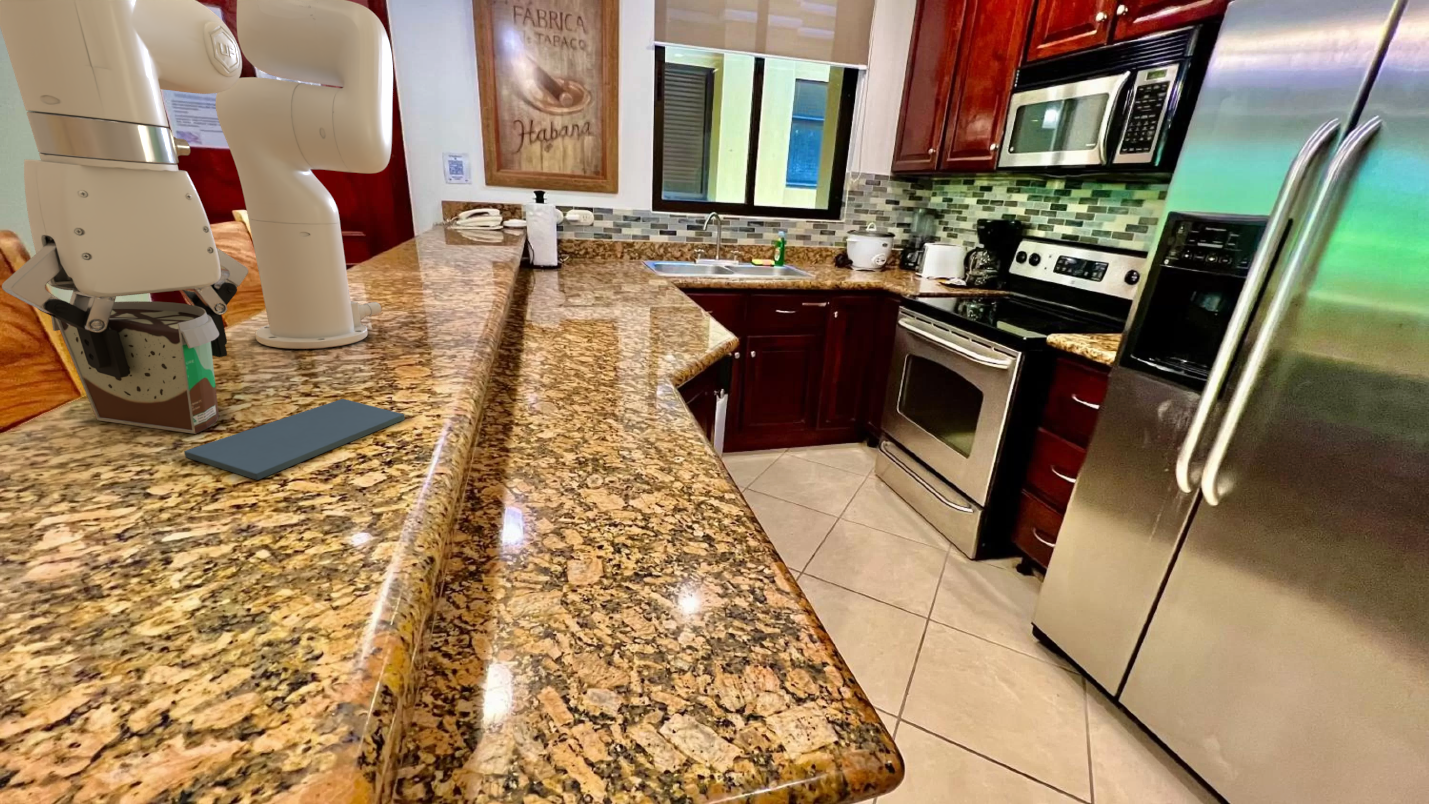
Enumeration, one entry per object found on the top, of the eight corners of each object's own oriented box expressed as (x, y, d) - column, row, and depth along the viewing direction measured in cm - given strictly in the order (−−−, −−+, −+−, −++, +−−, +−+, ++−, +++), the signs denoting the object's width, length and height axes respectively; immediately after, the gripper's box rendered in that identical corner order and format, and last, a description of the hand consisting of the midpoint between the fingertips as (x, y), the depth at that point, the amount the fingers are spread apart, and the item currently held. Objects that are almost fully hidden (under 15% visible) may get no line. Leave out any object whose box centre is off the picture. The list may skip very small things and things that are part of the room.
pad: (343, 403, 57) (342, 398, 57) (405, 419, 55) (404, 413, 55) (185, 457, 44) (183, 450, 44) (257, 480, 42) (255, 473, 42)
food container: (271, 411, 54) (251, 310, 50) (211, 436, 48) (184, 323, 45) (154, 395, 55) (127, 294, 51) (81, 417, 49) (45, 306, 45)
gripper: (202, 154, 52) (240, 337, 58) (-100, 127, 36) (-3, 382, 43) (260, 160, 50) (293, 349, 56) (-32, 135, 34) (59, 401, 41)
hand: (165, 362), depth 49 cm, fingers closed on food container, 6 cm apart
